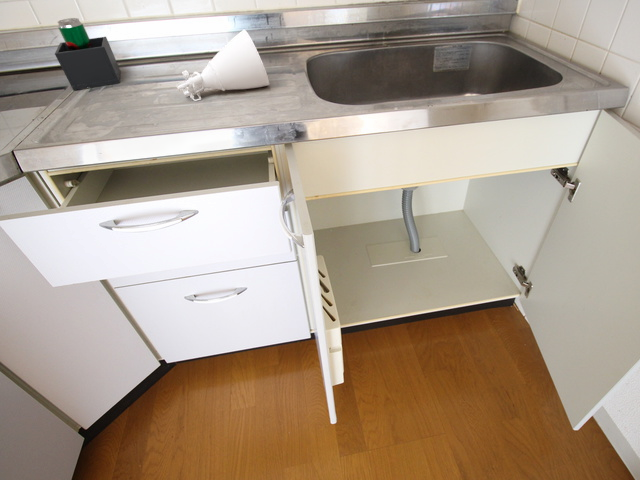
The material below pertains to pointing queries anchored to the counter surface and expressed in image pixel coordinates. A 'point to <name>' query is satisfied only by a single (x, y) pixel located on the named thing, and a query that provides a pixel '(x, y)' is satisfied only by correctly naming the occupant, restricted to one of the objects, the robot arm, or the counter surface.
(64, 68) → the bin
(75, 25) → the soda can
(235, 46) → the rocket engine
